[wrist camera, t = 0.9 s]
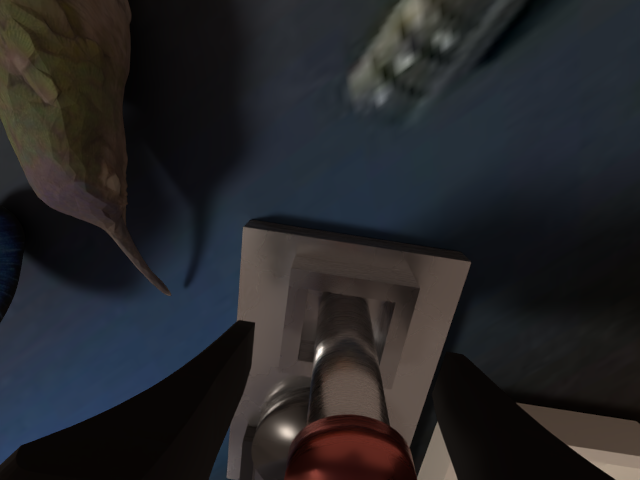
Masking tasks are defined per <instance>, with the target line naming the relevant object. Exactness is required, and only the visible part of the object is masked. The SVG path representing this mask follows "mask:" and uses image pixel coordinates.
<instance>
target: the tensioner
mask: <svg viewBox="0 0 640 480" xmlns="http://www.w3.org/2000/svg"><path fill="white" fill-rule="evenodd" d="M470 265H471V261H470V260H469V259H468V258H467V257H466V256H465V255H464V254H463V253H462V252H458V251H452V250H445V249H439V248H432V247H426V246H419V245H413V244H406V243H400V242H393V241H387V240H380V239H374V238H367V237H361V236H354V235H348V234H341V233H335V232H328V231H322V230H315V229H309V228H302V227H296V226H289V225H283V224H276V223H270V222H263V221H257V220H250V221H249V222H248V223H247V224H246V225H245V226H244V227H243V238H242V253H241V269H240V284H239V299H238V314H237V321H238V320H243V321H250V322H255V332H254V344H253V355H252V366H251V370H250V373H249V377H248V380H247V383H246V387H245V390H244V393H243V395H242V398H241V400H240V403H239V405H238V407H237V410H236V412H235V414H234V417H233V419H232V421H231V424H230V436H229V452H228V467H227V478H229V479H235V480H284V477H285V471H286V464H287V458H288V451H289V447H290V445H291V443H292V441H293V439H294V438H295V436H296V435H297V434H298V433H299V432H300V431H301V430H302V429H303V428H305V427H306V426H307V416H308V407H309V397H310V387H311V377H312V368H313V358H314V348H315V339H316V329H317V319H318V310H319V306H320V304H321V302H322V301H323V299H324V298H325V297H327V296H328V295H330V294H331V293H336V294H343V295H349V296H356V297H362V298H363V299H364V300H365V301H366V303H367V305H368V307H369V312H370V317H371V323H372V328H373V334H374V339H375V345H376V351H377V356H378V362H379V367H380V373H381V378H382V384H383V389H384V395H385V400H386V406H387V411H388V417H389V422H390V426H391V427H392V428H393V429H395V430H396V431H397V432H398V433H399V434H400V435H401V436H402V437H403V438H404V439H405V441H406V442H407V444H408V446H409V447H410V444H411V441H412V438H413V435H414V432H415V429H416V426H417V423H418V420H419V417H420V414H421V411H422V408H423V405H424V402H425V399H426V396H427V394H428V391H429V388H430V385H431V382H432V379H433V376H434V373H435V370H436V367H437V364H438V361H439V358H440V355H441V352H442V349H443V346H444V343H445V340H446V337H447V334H448V331H449V328H450V325H451V322H452V319H453V316H454V313H455V310H456V307H457V304H458V301H459V298H460V295H461V292H462V289H463V286H464V283H465V280H466V277H467V274H468V271H469V268H470Z"/></svg>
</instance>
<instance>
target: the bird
mask: <svg viewBox="0 0 640 480" xmlns="http://www.w3.org/2000/svg"><path fill="white" fill-rule="evenodd" d="M130 22H131V10H130V7H129V3H128V0H0V118H1V120H2V123H3V125H4V128H5V130H6V133H7V136H8V139H9V141H10V143H11V145H12V147H13V149H14V151H15V153H16V155H17V157H18V160H19V162H20V164H21V166H22V168H23V171H24V173H25V175H26V177H27V179H28V182H29V184H30V185H31V187H32V189H33V190H34V192H35V193H36V195H37V196H38V197H39V198H40V199H41V200H42V201H43V202H44V203H46V204H47V205H48V206H49V207H51V208H53V209H55V210H57V211H59V212H62V213H64V214H67V215H71V216H73V217H75V218H78V219H82V220H84V221H86V222H89V223H91V224H94V225H96V226H98V227H100V228H102V229H103V230H105V231H106V232H107V233H108V234H109V235H110V236H111V237H112V238H113V240H114V241H115V242H116V243H117V245H118V246H119V247H120V248H121V249H122V251H123V252H124V253H125V254H126V255H127V257H128V258H129V259H130V260H131V261H132V263H133V264H134V265H135V266H136V267H137V269H138V270H139V271H140V272H141V273H142V274H143V275H144V276H145V277H146V278H147V279H148V280H149V281H150V282H151V283H152V284H153V285H154V286H156V287H157V288H158V289H159V290H160V291H161V292H163V293H164V294H166V295H168V296H171V293H170V291H169V290H168V288H167V287H166V286H165V284H164V283H163V282H162V281H161V280H160V279H159V278H158V277H157V276H156V275H155V274H154V273H153V272H152V271H151V270H150V268H149V267H148V266H147V264H146V263H145V261H144V260H143V258H142V256H141V255H140V253H139V251H138V250H137V248H136V246H135V244H134V242H133V241H132V238H131V236H130V234H129V232H128V229H127V227H126V205H127V204H128V203H127V195H128V194H127V191H126V188H127V187H128V186H127V182H126V168H127V161H128V157H127V152H126V138H125V131H124V123H123V113H122V110H123V97H124V89H125V84H126V81H127V78H128V75H129V70H130V52H131V36H130V28H129V25H130Z"/></svg>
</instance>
